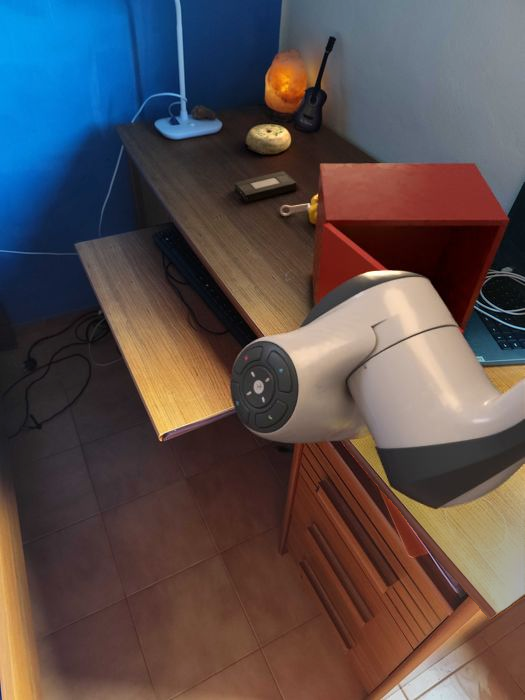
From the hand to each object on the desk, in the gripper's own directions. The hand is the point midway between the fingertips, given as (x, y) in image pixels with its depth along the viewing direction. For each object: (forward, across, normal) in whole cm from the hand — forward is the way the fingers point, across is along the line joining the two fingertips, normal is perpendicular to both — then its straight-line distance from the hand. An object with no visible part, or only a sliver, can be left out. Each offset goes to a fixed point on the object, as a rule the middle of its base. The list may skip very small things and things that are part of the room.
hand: (384, 401), depth 59 cm
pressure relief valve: (+36, +51, -19) cm, 65 cm away
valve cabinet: (+28, +19, -11) cm, 35 cm away
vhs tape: (+39, +68, -22) cm, 82 cm away
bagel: (+52, +88, -35) cm, 108 cm away
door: (+12, +9, +5) cm, 16 cm away
